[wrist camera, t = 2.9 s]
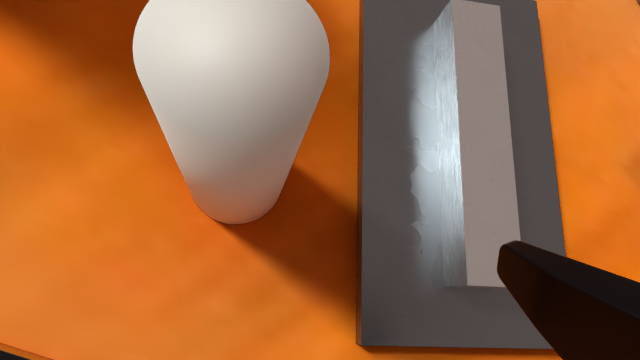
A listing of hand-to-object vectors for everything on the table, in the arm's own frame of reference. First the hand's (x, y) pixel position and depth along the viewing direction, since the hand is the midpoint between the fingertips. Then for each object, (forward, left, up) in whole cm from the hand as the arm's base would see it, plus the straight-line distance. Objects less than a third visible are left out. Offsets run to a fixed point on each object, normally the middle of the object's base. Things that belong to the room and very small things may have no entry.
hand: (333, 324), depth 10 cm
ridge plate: (-4, -13, -13) cm, 19 cm away
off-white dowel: (+6, -5, -13) cm, 15 cm away
